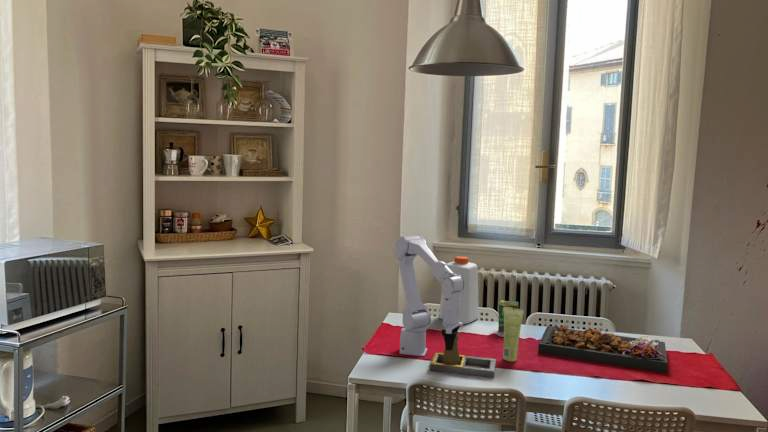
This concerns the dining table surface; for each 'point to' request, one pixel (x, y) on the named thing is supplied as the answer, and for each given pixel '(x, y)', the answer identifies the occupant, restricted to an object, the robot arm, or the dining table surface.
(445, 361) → the cork
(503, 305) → the coffee box
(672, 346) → the dining table surface
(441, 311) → the plastic bottle
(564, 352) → the food platter
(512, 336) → the tube
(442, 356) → the rail plate
